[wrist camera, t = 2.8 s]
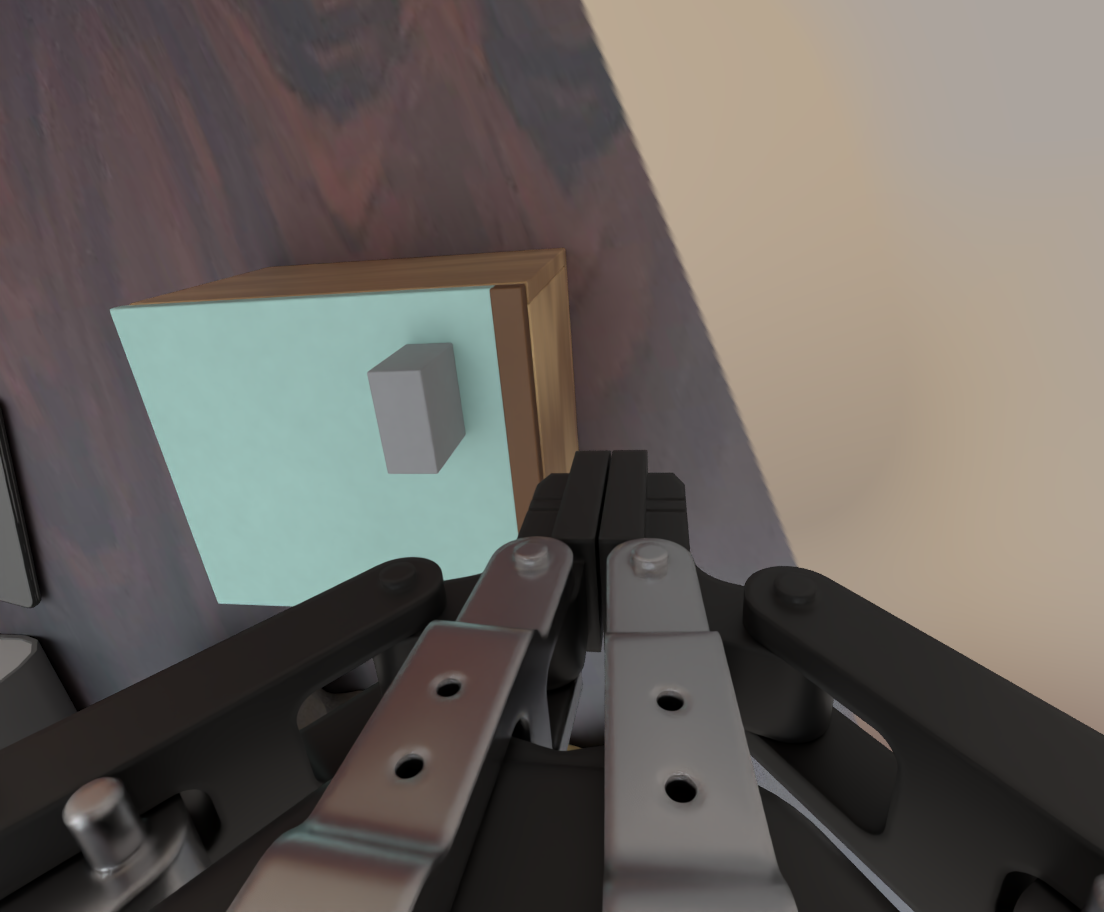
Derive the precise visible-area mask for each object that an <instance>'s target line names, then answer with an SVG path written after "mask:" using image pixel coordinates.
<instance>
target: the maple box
mask: <svg viewBox="0 0 1104 912" xmlns="http://www.w3.org/2000/svg"><path fill="white" fill-rule="evenodd" d="M506 284H525V286H526V297H527V307H528V318H529V329H530V339H531V350H532V361H533V371H534V382H535V392H536V403H537V414H538V424H539V435H540V446H541V456H542V467H543V478H544V479H545V478H546V477H547V476H548V475H550V474H551V473H570V469H571V466H572V462H573V459H574V455H575V452H576V451H579V447H578V432H577V417H576V402H575V387H574V372H573V357H572V342H571V327H570V312H569V297H568V282H567V266H566V251H565V248H554V249H538V250H523V251H507V252H492V253H477V254H461V255H446V256H430V257H415V258H399V259H384V260H368V261H353V262H338V263H322V264H307V265H291V266H276V267H267V268H263V269H259V270H256V271H252V272H248V273H244V274H240V275H237V276H233V277H229V278H225V279H221V280H218V281H214V282H210V283H206V284H202V285H199V286H195V287H191V288H187V289H184V290H180V291H176V292H172V293H168V294H165V295H161V296H157V297H153V298H149V299H146V300H142V301H138V302H134V303H131V304H130V305H146V304H164V303H182V302H200V301H218V300H236V299H254V298H272V297H290V296H308V295H327V294H345V293H363V292H381V291H399V290H417V289H435V288H453V287H471V286H489V285H506Z"/></svg>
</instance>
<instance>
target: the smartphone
mask: <svg viewBox="0 0 1104 912" xmlns="http://www.w3.org/2000/svg"><path fill="white" fill-rule="evenodd" d="M0 601H4V602H7V603H11V604H15V605H18V606H22V607H26V608H32V607H35V606H36V605H38V604H39V603H40V601H41V595H40V590H39V586H38V581H37V576H36V571H35V567H34V562H33V557H32V553H31V548H30V543H29V538H28V534H27V529H26V524H25V520H24V515H23V510H22V505H21V501H20V496H19V491H18V487H17V482H16V477H15V472H14V468H13V463H12V458H11V454H10V449H9V444H8V439H7V435H6V430H5V425H4V421H3V416H2V411H1V408H0Z"/></svg>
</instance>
